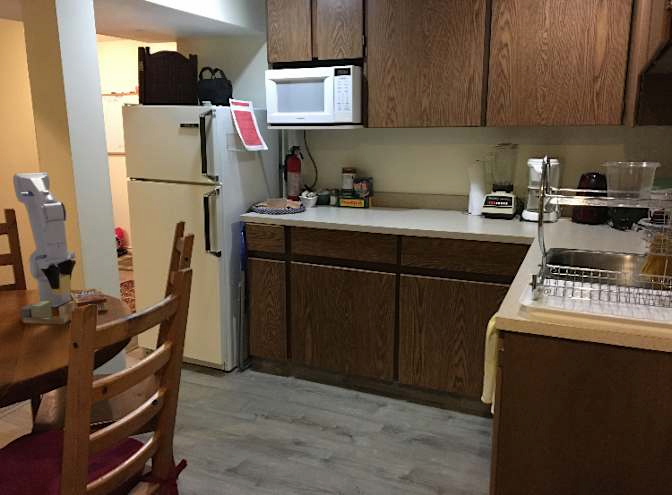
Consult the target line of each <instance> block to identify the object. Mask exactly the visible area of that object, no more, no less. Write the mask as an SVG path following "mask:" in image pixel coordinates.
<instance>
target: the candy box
mask: <svg viewBox="0 0 672 495" xmlns="http://www.w3.org/2000/svg"><path fill="white" fill-rule="evenodd" d="M70 299H71V300H70V301H75V308H77V307H82V306H85V305H88V304H98V306H99V311H98V312H102V311H107V310H108V309H109V308H108V300H107V297H106V296H105V294H104V293H103V292H102V291H101V290H100V289H99V287H94V288H93V287H92V288H85V289H81V290H79V289H78V290H73V291H72V290H71V291H70Z"/></svg>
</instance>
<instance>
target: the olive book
mask: <svg viewBox="0 0 672 495" xmlns="http://www.w3.org/2000/svg"><path fill="white" fill-rule="evenodd" d="M33 304H34V305H31V315H32V317H35V318H50V317H51V318H53V313H52V307H51V302H50V301H40V300H39V301H38V302H36V303H33Z"/></svg>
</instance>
